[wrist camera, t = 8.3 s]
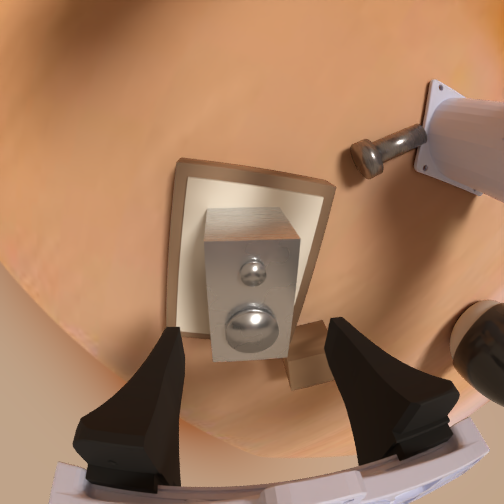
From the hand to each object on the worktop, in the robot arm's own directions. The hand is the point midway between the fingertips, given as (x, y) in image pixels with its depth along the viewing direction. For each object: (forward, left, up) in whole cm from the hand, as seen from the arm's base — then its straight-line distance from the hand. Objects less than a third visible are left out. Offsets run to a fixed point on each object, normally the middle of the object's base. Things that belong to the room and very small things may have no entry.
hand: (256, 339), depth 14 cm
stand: (0, 0, -9) cm, 9 cm away
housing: (0, 0, -7) cm, 7 cm away
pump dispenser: (-30, +6, -9) cm, 32 cm away
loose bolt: (-9, -10, -9) cm, 17 cm away
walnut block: (-7, +8, -9) cm, 14 cm away
